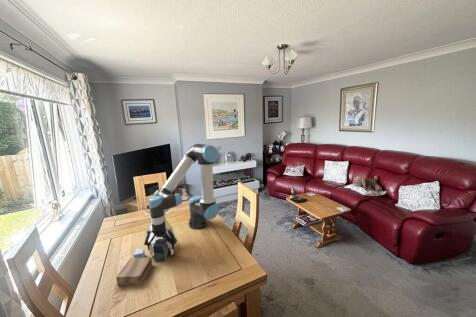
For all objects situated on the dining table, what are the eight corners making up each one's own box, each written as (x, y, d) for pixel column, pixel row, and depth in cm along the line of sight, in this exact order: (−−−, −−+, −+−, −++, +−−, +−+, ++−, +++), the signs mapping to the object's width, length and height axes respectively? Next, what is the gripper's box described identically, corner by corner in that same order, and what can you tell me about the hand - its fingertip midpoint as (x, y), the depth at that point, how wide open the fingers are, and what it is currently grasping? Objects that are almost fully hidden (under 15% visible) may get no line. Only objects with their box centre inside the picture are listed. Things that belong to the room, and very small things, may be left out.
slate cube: (145, 255, 124) (144, 248, 123) (143, 260, 119) (142, 253, 118) (136, 256, 123) (135, 249, 122) (134, 262, 118) (133, 254, 117)
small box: (159, 250, 128) (157, 235, 126) (169, 249, 128) (168, 234, 126) (154, 261, 118) (152, 246, 115) (165, 260, 118) (163, 245, 116)
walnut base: (152, 264, 115) (151, 257, 114) (141, 284, 101) (139, 276, 100) (131, 265, 115) (130, 258, 114) (117, 285, 101) (116, 277, 100)
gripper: (180, 218, 122) (183, 249, 127) (140, 219, 122) (145, 250, 126) (176, 224, 115) (180, 257, 119) (134, 226, 115) (139, 258, 119)
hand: (162, 254), depth 123 cm, fingers open, 12 cm apart
